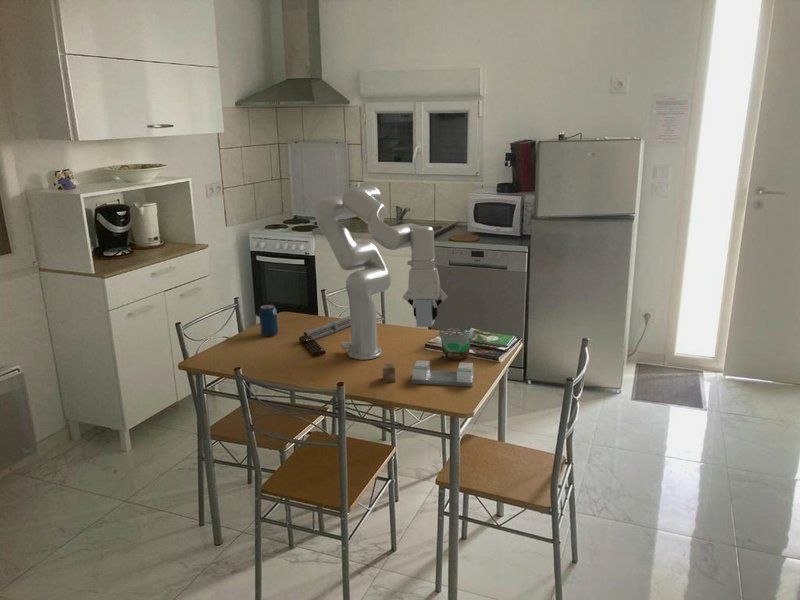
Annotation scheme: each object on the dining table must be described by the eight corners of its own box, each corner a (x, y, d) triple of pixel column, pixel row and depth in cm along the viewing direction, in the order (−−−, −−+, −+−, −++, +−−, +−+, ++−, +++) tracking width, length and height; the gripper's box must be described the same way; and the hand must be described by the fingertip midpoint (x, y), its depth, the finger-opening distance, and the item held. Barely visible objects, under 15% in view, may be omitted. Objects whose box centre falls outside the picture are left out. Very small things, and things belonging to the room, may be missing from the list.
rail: (411, 383, 215) (411, 368, 214) (415, 373, 223) (415, 359, 221) (472, 386, 211) (472, 371, 210) (474, 377, 219) (474, 362, 218)
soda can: (282, 333, 267) (279, 305, 264) (270, 338, 261) (267, 309, 258) (269, 330, 271) (267, 303, 267) (257, 335, 265) (254, 307, 262)
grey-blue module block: (416, 326, 214) (415, 299, 211) (420, 320, 220) (419, 294, 218) (431, 326, 213) (430, 299, 210) (435, 320, 219) (434, 294, 217)
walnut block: (383, 382, 217) (382, 368, 215) (382, 377, 221) (382, 363, 219) (395, 381, 217) (394, 367, 216) (394, 377, 221) (394, 363, 220)
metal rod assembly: (308, 344, 255) (307, 332, 253) (303, 342, 256) (302, 330, 255) (353, 327, 274) (353, 315, 272) (348, 325, 275) (348, 314, 274)
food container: (439, 362, 233) (439, 335, 230) (438, 355, 239) (438, 329, 236) (474, 361, 232) (474, 335, 230) (472, 355, 238) (473, 329, 236)
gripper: (395, 267, 210) (398, 321, 214) (448, 266, 206) (450, 322, 211) (400, 262, 217) (402, 315, 221) (451, 261, 213) (452, 315, 218)
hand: (425, 317), depth 216 cm, fingers closed on grey-blue module block, 5 cm apart
